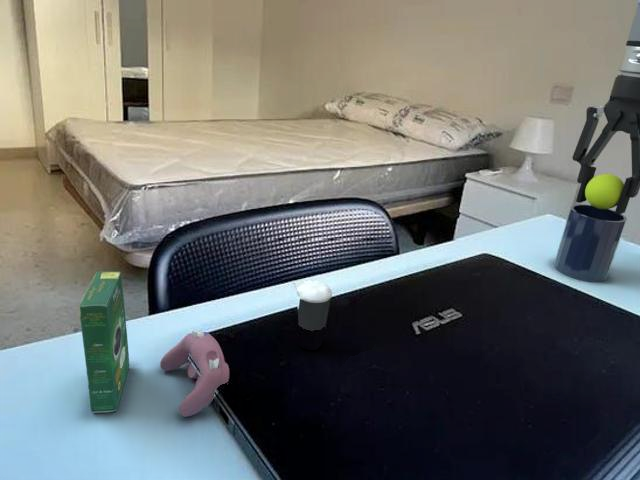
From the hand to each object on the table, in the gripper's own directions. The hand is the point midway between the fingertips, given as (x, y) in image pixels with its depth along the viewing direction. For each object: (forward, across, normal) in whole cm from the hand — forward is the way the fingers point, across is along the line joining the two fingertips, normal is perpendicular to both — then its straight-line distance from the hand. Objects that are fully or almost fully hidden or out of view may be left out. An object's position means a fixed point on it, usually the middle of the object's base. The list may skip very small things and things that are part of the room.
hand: (599, 206), depth 92 cm
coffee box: (+14, -15, -84) cm, 86 cm away
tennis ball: (-3, 0, 0) cm, 3 cm away
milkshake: (+13, -9, -60) cm, 62 cm away
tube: (+13, 0, 0) cm, 13 cm away
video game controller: (+14, -10, -76) cm, 78 cm away
